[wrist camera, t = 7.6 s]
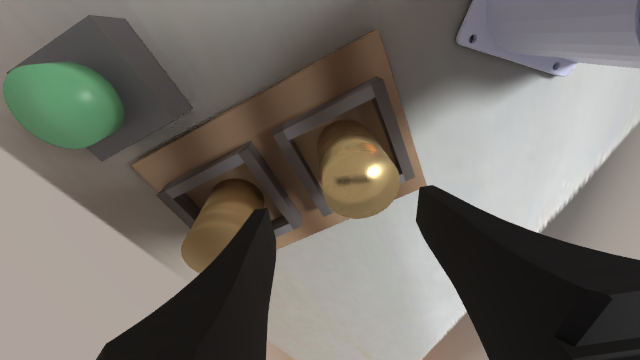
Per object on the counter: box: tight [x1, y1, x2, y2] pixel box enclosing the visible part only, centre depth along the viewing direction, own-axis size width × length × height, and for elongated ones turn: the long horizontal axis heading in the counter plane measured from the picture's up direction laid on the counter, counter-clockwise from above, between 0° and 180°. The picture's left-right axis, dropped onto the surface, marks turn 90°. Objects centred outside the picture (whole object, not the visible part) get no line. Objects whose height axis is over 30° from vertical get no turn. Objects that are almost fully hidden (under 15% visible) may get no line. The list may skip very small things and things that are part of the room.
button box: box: [7, 15, 192, 161], centre depth 16 cm, size 6×6×3 cm
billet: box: [317, 119, 400, 219], centre depth 17 cm, size 4×4×6 cm
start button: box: [3, 62, 124, 149], centre depth 13 cm, size 4×4×2 cm
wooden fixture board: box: [131, 30, 427, 273], centre depth 18 cm, size 20×13×7 cm, turn 116°
